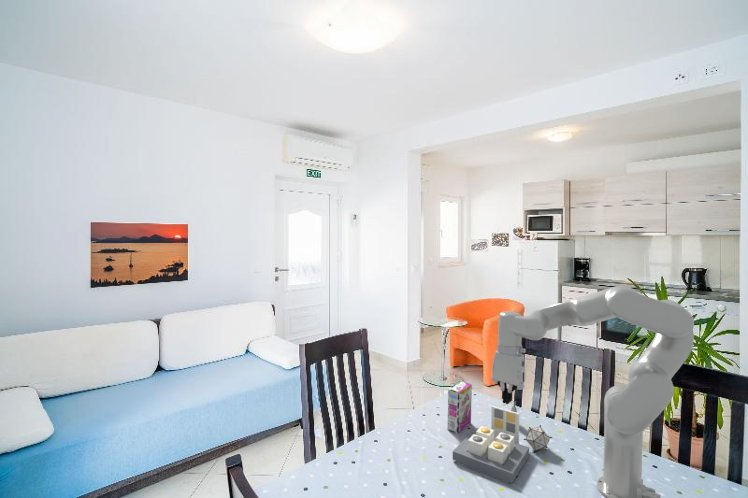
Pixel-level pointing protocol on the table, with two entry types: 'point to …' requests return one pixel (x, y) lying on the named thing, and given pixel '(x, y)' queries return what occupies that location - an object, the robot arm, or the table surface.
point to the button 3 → (506, 441)
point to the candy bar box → (459, 407)
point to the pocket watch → (514, 407)
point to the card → (505, 422)
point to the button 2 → (477, 445)
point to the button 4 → (498, 452)
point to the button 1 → (486, 434)
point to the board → (491, 467)
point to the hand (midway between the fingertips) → (506, 402)
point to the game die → (537, 438)
